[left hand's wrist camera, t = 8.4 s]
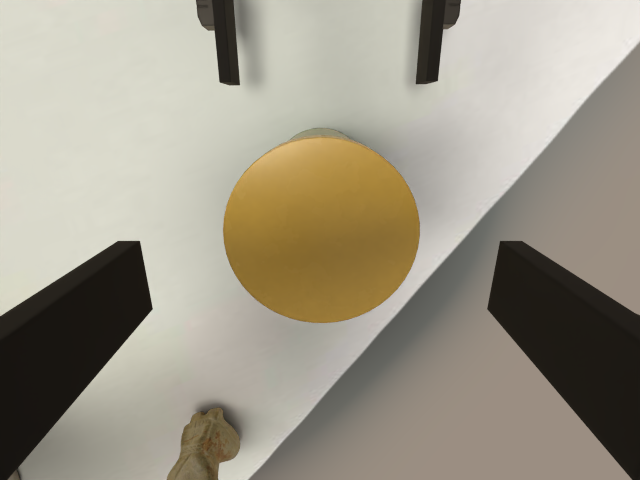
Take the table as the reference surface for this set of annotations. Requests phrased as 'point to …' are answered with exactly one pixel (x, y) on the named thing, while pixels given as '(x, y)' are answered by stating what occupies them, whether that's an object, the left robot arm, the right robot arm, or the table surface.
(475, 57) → the table surface
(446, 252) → the table surface
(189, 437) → the sculpture
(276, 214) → the lid
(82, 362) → the left robot arm
